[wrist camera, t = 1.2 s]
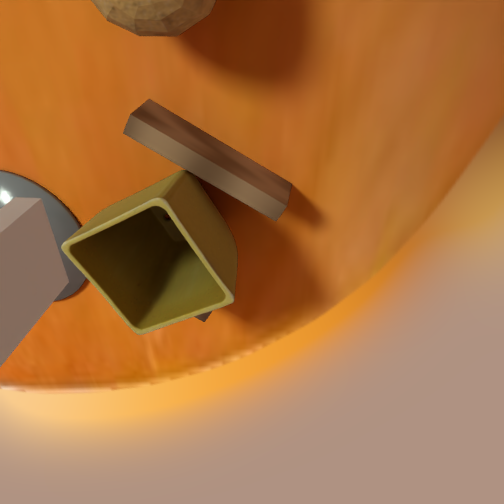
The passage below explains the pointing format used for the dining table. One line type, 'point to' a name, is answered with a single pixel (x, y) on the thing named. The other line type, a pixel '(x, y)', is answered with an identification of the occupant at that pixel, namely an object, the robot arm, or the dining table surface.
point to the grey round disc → (60, 218)
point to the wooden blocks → (208, 160)
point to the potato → (155, 15)
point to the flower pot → (159, 254)
